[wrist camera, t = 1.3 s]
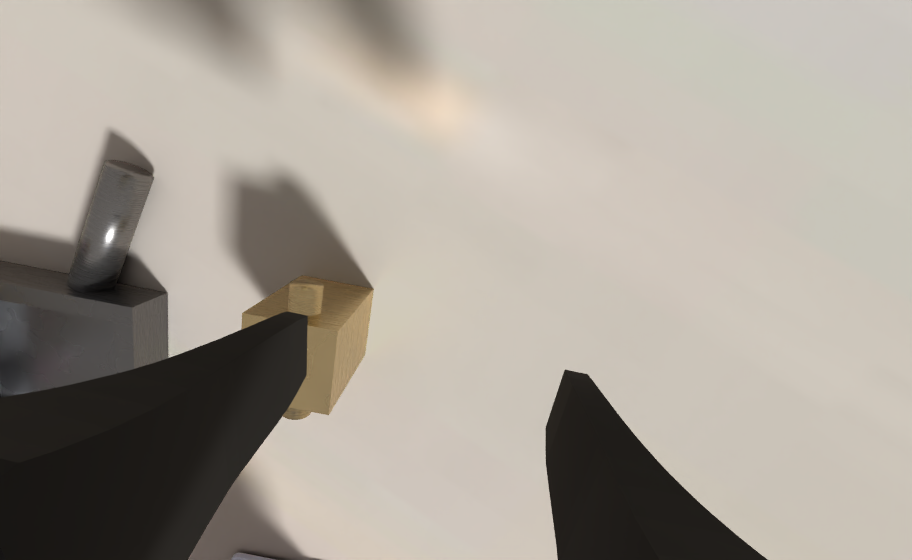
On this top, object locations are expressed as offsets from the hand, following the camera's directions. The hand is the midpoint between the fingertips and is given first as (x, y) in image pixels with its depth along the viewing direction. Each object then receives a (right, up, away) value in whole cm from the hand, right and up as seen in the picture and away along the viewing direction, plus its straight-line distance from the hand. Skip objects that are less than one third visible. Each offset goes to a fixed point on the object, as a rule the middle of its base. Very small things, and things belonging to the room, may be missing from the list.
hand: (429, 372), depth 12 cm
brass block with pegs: (-6, +1, +12) cm, 13 cm away
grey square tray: (-22, -2, +14) cm, 26 cm away
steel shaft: (-17, +5, +11) cm, 21 cm away
